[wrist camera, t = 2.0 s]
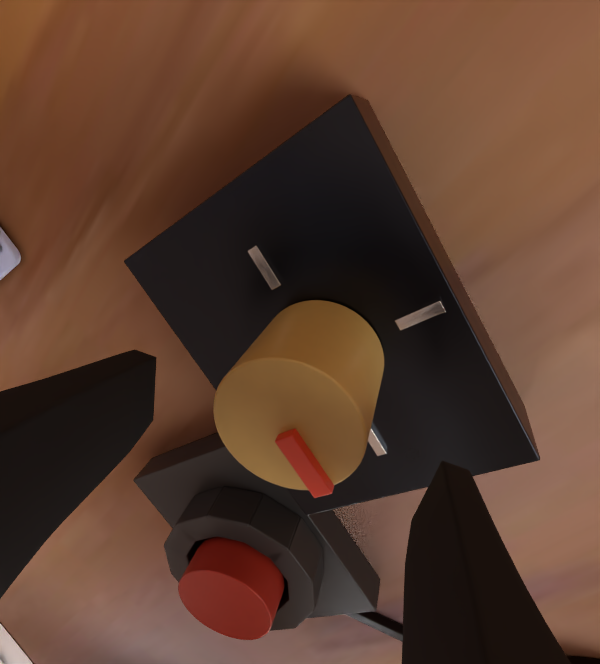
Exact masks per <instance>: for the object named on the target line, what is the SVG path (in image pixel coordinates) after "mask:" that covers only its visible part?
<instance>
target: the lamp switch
mask: <svg viewBox="0 0 600 664" xmlns="http://www.w3.org/2000/svg"><path fill="white" fill-rule="evenodd" d="M178 591H179V595H180V598H181V600H182V602H183V604H184V605H185V607H186V608H187V609H188V611H189V612H190V613H191V614H192V615H193V616H194V617H195V618H196V619H197V620H199V621H200V622H201V623H203V624H204V625H206V626H207V627H209V628H210V629H212V630H214V631H216V632H218V633H220V634H223V635H225V636H228V637H232V638H236V639H243V640H253V639H258V638H261V637H263V636H265V635H266V634H267V633H268V632H269V631H270V629H271V627H272V624H273V621H274V618H275V615H276V612H277V609H278V606H279V603H280V600H281V597H282V594H283V591H284V578H283V575H282V573H281V572H280V571H279V569H278V568H277V567H276V565H275V564H274V563H273V561H272V560H271V559H270V558H268V557H267V556H265V555H264V554H262V553H260V552H259V551H257V550H256V549H254V548H252V547H251V546H249V545H248V544H246V543H244V542H240V541H236V540H232V539H227V538H223V537H218V536H217V537H212V538H209V539H207V540H205V541H204V542H203V543H201V545H200V546H199V547H198V549H197V551H196V553H195V554H194V556H193V558H192V560H191V561H190V563H189V565H188V567H187V568H186V570H185V572H184V574H183V575H182V577H181V579H180V581H179V586H178Z"/></svg>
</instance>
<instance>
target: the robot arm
mask: <svg viewBox="0 0 600 664" xmlns="http://www.w3.org/2000/svg"><path fill="white" fill-rule="evenodd" d="M20 261H21V255H20V252H19V251H18V249H17V248H16V246H15V245H14V244H13V243H12V241H11V240H10V239H9V237H8V236H7V235H6V234H5V232H4V231H3V230H2V228H1V227H0V280H1V279H2V278H3V277H5V276H6V275H7V274H8V273H9V272H10V271H11V270H12V269H14V268H15V267H16V266H17V265H18V264H19V263H20ZM155 374H156V357H154V356H151V355H148V354H146V353H143V352H140V351H137V350H132V351H128V352H125V353H121V354H118V355H115V356H112V357H109V358H106V359H103V360H100V361H97V362H94V363H91V364H88V365H85V366H82V367H79V368H76V369H73V370H70V371H67V372H64V373H60V374H57V375H54V376H51V377H48V378H45V379H42V380H38V381H35V382H32V383H28V384H25V385H21V386H18V387H14V388H11V389H8V390H4V391H1V392H0V598H1V597H2V596H3V594H4V593H5V592H6V590H7V589H8V588H9V586H10V585H11V584H12V583H13V581H14V580H15V579H16V577H17V576H18V575H19V574H20V572H21V571H22V570H23V569H24V567H25V566H26V565H27V564H28V562H29V561H30V560H31V559H32V557H33V556H34V555H35V554H36V552H37V551H38V550H39V549H40V547H41V546H42V545H43V544H44V542H45V541H46V540H47V539H48V538H49V537H50V536H51V534H52V533H53V532H54V531H55V530H56V529H57V528H58V527H59V525H60V524H61V523H62V522H63V521H64V520H65V519H66V518H67V517H68V516H69V515H70V514H71V513H72V512H73V511H74V510H75V509H76V508H77V507H78V506H79V504H80V503H81V502H82V501H83V500H84V499H85V498H86V497H87V496H88V495H89V494H90V493H91V492H92V491H93V490H94V489H95V488H96V487H97V486H98V485H99V484H100V483H101V482H102V481H103V480H104V479H105V477H106V476H107V475H108V474H109V473H110V472H111V471H112V470H113V469H114V468H115V467H116V466H117V465H118V464H119V463H120V462H121V461H122V460H123V458H124V457H125V456H126V455H127V454H128V453H129V452H130V451H131V449H132V448H133V447H134V445H135V444H136V443H137V441H138V440H139V439H140V438H141V436H142V435H143V433H144V432H145V430H146V429H147V428H148V426H149V425H150V423H151V422H152V421H153V415H154V394H155ZM402 664H571V662H570V661H569V659H568V658H567V656H566V655H565V653H564V651H563V650H562V648H561V647H560V645H559V643H558V642H557V640H556V639H555V637H554V635H553V634H552V632H551V630H550V629H549V627H548V625H547V624H546V622H545V620H544V618H543V617H542V615H541V613H540V611H539V610H538V608H537V606H536V604H535V602H534V601H533V599H532V597H531V595H530V594H529V592H528V590H527V588H526V586H525V584H524V582H523V581H522V579H521V577H520V575H519V573H518V571H517V569H516V567H515V565H514V563H513V561H512V559H511V557H510V555H509V553H508V551H507V549H506V547H505V545H504V543H503V541H502V539H501V537H500V535H499V533H498V531H497V529H496V527H495V525H494V522H493V520H492V518H491V516H490V514H489V512H488V510H487V507H486V505H485V503H484V501H483V499H482V496H481V494H480V492H479V490H478V487H477V485H476V483H475V481H474V479H473V477H472V475H471V472H470V470H467V469H465V468H462V467H459V466H456V465H454V464H451V463H448V462H445V461H441V463H440V465H439V467H438V469H437V471H436V473H435V475H434V477H433V479H432V481H431V483H430V485H429V487H428V489H427V491H426V493H425V495H424V497H423V499H422V501H421V503H420V505H419V507H418V509H417V511H416V512H415V514H414V516H413V518H412V522H411V528H410V534H409V541H408V547H407V555H406V562H405V582H404V612H403V645H402Z"/></svg>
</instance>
